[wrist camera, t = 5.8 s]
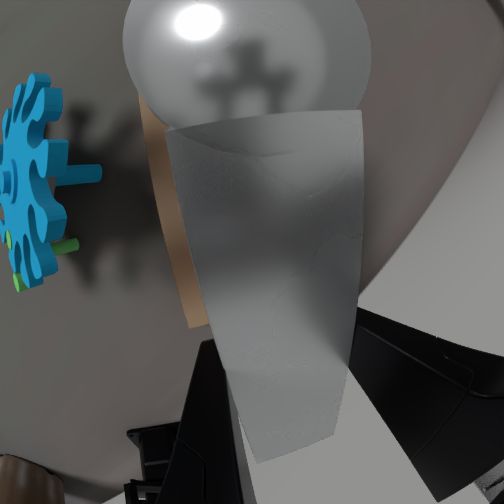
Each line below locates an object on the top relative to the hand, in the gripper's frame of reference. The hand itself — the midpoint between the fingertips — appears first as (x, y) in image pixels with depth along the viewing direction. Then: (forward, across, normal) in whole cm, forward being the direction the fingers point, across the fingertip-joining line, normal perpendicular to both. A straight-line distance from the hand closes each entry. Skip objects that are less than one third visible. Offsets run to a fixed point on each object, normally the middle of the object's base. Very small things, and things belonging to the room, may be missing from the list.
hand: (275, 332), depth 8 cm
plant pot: (+10, +38, +31) cm, 50 cm away
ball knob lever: (+2, 0, -2) cm, 2 cm away
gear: (+11, +10, -5) cm, 15 cm away
